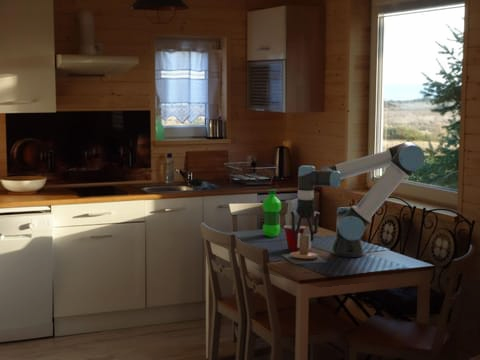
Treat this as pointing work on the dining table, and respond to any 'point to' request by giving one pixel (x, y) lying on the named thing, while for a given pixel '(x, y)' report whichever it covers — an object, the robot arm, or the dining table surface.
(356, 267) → the dining table surface
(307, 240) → the lid
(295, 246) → the plastic cup
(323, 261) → the mat
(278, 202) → the plastic bottle
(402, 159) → the robot arm
